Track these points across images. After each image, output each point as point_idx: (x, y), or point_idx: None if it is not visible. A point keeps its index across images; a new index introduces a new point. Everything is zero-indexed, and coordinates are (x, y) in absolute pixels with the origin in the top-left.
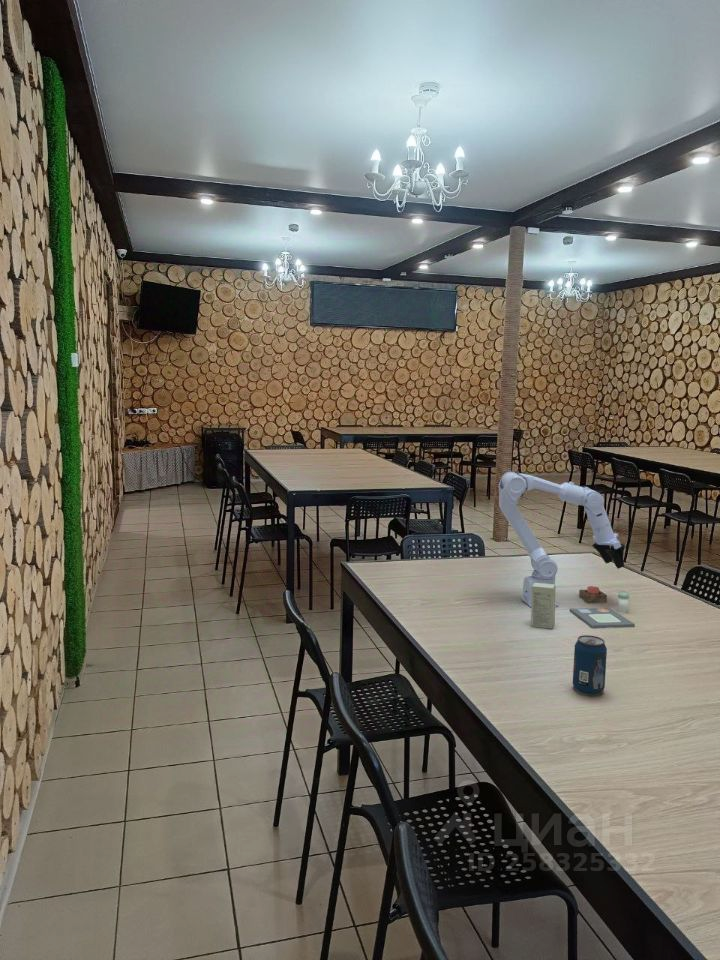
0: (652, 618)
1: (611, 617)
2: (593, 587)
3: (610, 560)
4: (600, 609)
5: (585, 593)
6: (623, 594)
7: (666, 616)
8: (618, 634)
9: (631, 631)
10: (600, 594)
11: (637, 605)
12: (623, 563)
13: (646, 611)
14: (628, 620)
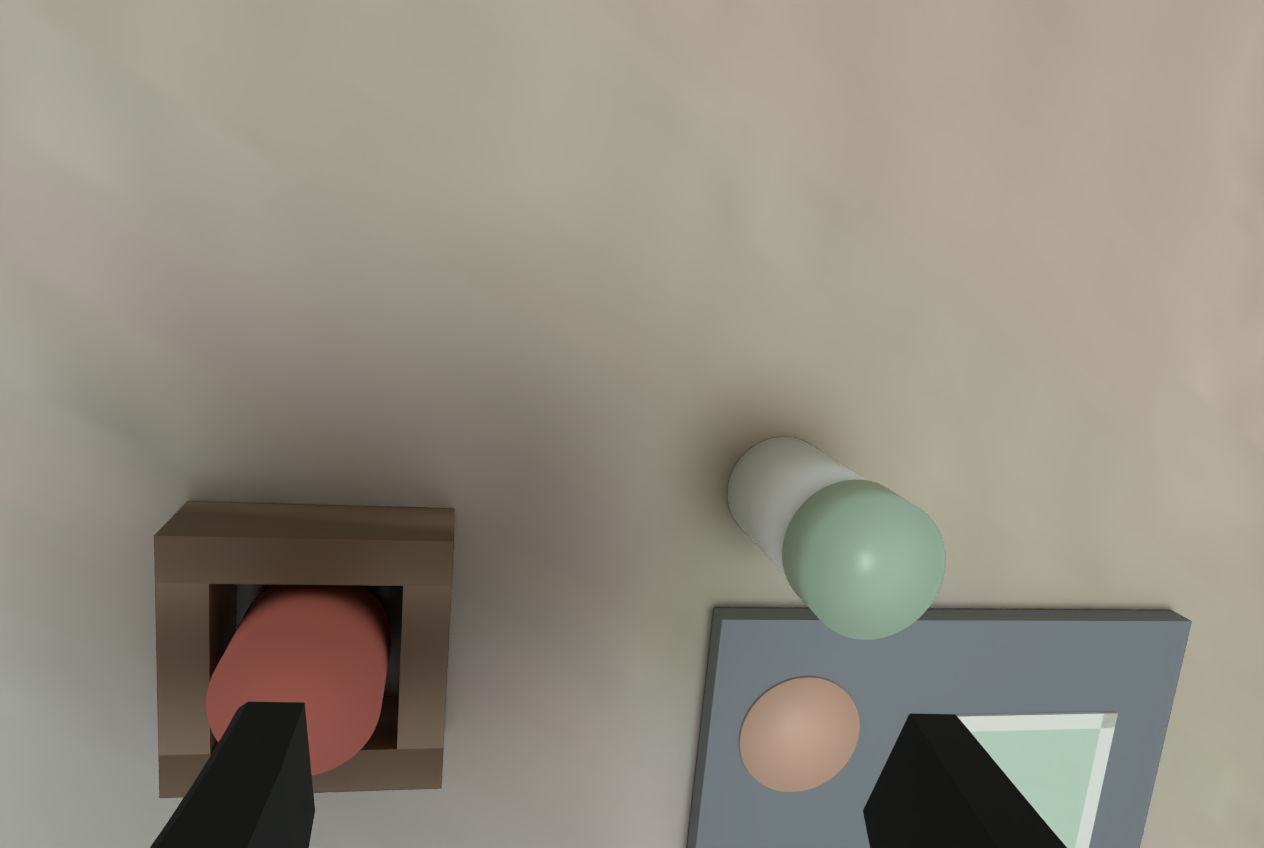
0: (1042, 298)
1: (998, 749)
2: (274, 691)
3: (297, 769)
4: (766, 749)
5: (347, 786)
6: (927, 604)
7: (1033, 93)
8: (1257, 820)
9: (1242, 690)
10: (417, 615)
11: (620, 180)
12: (1002, 780)
13: (839, 215)
14: (1100, 627)
